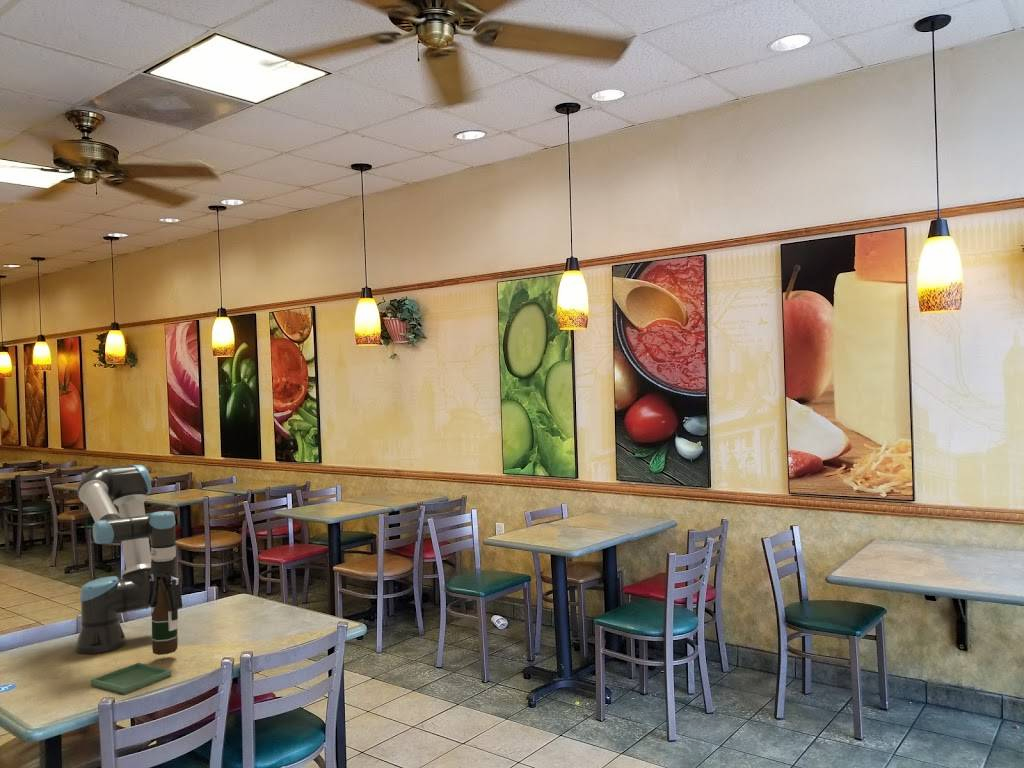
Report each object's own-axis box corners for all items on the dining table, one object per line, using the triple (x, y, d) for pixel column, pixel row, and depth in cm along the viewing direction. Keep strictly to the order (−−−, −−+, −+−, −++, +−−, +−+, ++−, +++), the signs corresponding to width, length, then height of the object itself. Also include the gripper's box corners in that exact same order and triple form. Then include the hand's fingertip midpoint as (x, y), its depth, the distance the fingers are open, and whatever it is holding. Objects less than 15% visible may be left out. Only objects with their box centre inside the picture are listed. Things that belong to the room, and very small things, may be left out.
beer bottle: (168, 655, 252) (166, 582, 252) (147, 654, 254) (145, 581, 254) (183, 647, 260) (181, 576, 260) (162, 646, 262) (160, 575, 261)
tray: (90, 685, 235) (90, 679, 235) (138, 668, 249) (138, 662, 249) (124, 694, 228) (124, 688, 228) (171, 676, 242) (171, 670, 242)
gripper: (133, 558, 258) (134, 626, 258) (174, 564, 248) (175, 635, 249) (153, 553, 265) (154, 620, 265) (193, 559, 255) (195, 629, 255)
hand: (164, 627), depth 257 cm, fingers closed on beer bottle, 7 cm apart
